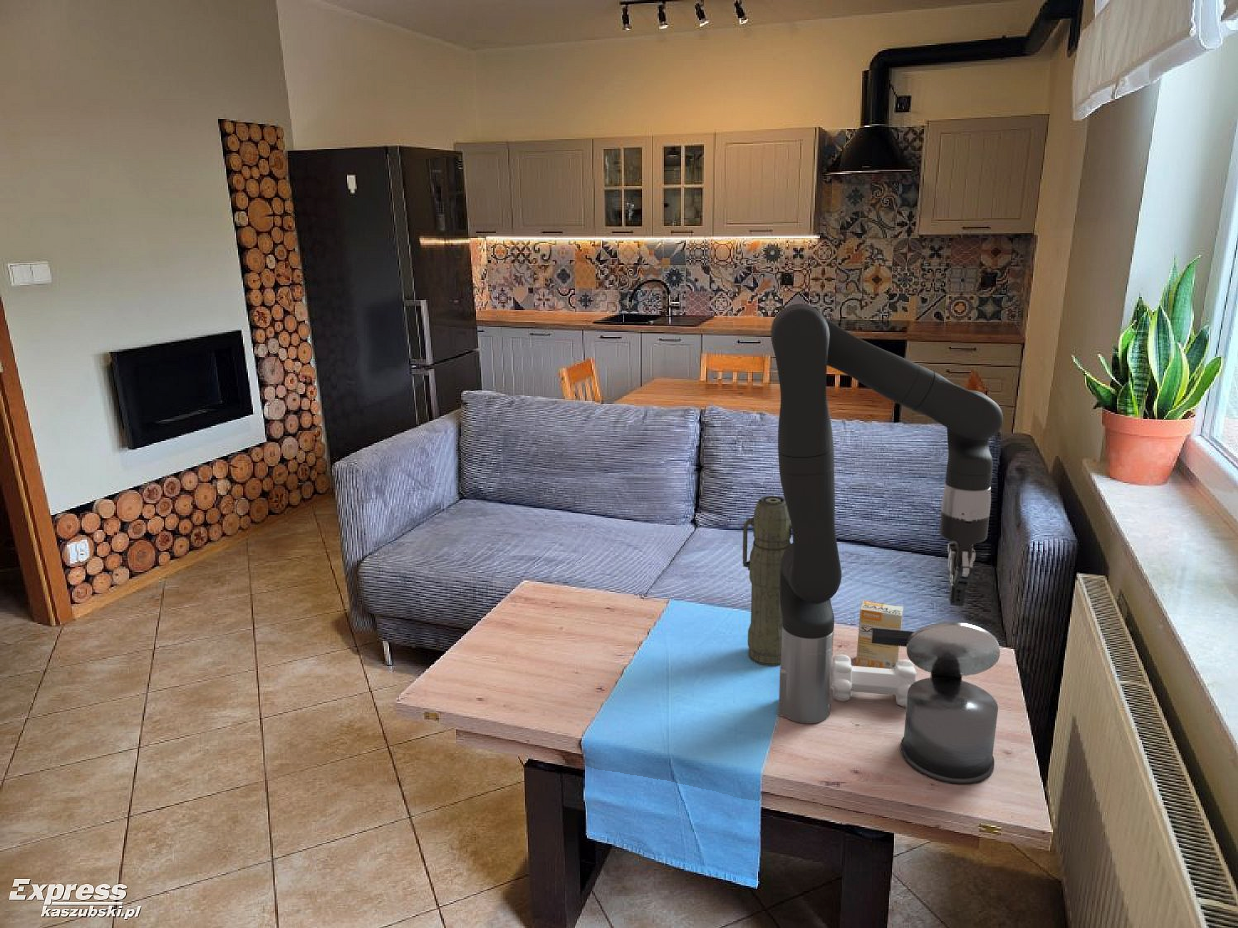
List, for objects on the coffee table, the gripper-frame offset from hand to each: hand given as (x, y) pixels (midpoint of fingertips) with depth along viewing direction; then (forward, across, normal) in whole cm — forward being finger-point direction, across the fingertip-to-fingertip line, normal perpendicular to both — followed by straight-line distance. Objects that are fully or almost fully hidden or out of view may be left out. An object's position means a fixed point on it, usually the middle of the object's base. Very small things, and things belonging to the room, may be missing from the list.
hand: (956, 603), depth 142 cm
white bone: (+24, -5, -12) cm, 27 cm away
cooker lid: (+6, +7, -4) cm, 10 cm away
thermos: (+24, -17, -33) cm, 44 cm away
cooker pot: (+23, +11, -1) cm, 26 cm away
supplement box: (+24, -18, -11) cm, 32 cm away
